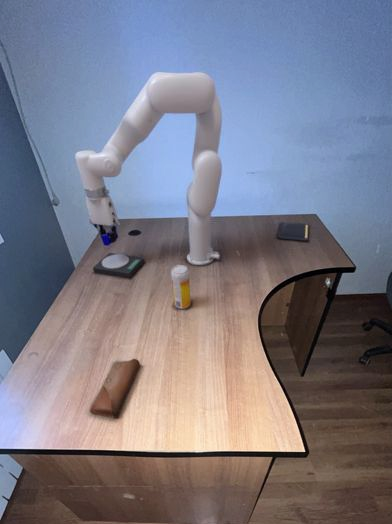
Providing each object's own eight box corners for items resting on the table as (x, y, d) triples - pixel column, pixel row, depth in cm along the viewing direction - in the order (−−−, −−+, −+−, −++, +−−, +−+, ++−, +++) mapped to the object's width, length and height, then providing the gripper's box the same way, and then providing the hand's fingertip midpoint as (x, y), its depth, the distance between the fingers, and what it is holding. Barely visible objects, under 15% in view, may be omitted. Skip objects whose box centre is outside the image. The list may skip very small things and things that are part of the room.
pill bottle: (192, 301, 101) (191, 265, 90) (187, 311, 97) (184, 275, 86) (178, 298, 102) (174, 263, 92) (172, 308, 99) (167, 272, 88)
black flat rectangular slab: (281, 219, 146) (310, 222, 142) (280, 223, 147) (309, 226, 143) (277, 235, 133) (308, 238, 129) (276, 238, 134) (307, 242, 131)
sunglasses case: (114, 361, 81) (119, 349, 76) (135, 370, 83) (142, 360, 78) (87, 413, 69) (92, 403, 64) (113, 423, 71) (119, 414, 66)
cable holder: (111, 236, 114) (108, 227, 111) (118, 237, 113) (115, 227, 111) (100, 244, 109) (97, 235, 106) (108, 245, 108) (105, 236, 105)
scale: (144, 262, 122) (143, 256, 120) (130, 278, 113) (128, 272, 111) (110, 257, 127) (108, 251, 124) (94, 272, 118) (92, 266, 115)
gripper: (121, 190, 98) (131, 239, 112) (83, 187, 102) (97, 235, 116) (110, 197, 94) (122, 247, 107) (71, 194, 97) (87, 242, 111)
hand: (109, 240), depth 111 cm, fingers closed on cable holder, 3 cm apart
